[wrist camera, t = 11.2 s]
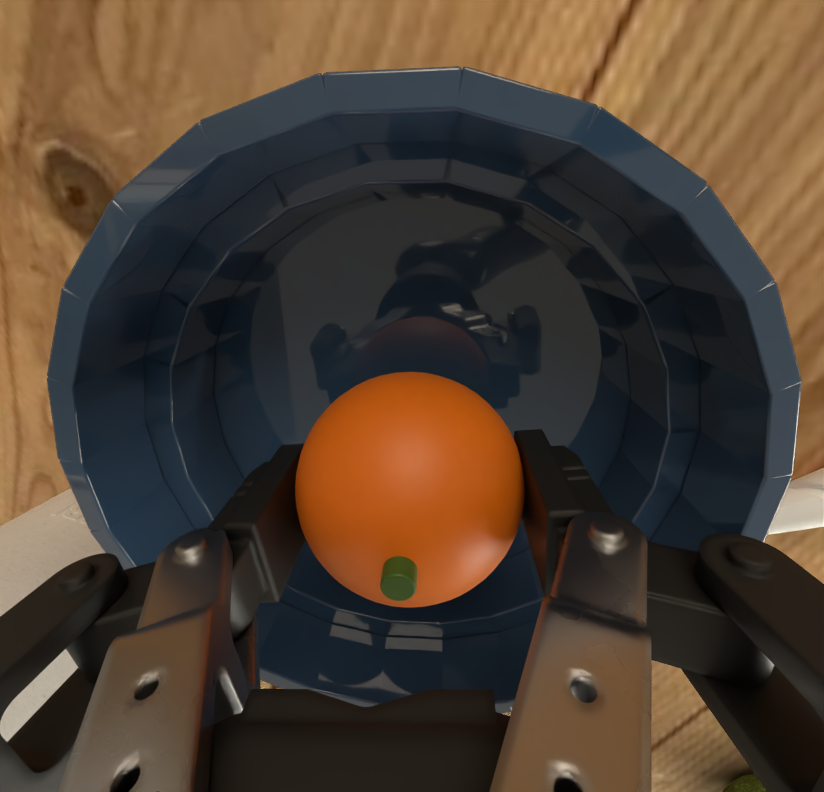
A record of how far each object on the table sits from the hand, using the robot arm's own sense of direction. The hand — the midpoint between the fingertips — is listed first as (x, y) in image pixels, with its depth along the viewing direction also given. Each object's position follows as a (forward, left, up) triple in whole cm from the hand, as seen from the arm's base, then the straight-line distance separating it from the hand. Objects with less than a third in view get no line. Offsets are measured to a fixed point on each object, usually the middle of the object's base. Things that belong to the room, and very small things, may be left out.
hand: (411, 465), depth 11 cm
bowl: (0, 0, -3) cm, 3 cm away
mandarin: (0, 0, +1) cm, 1 cm away
